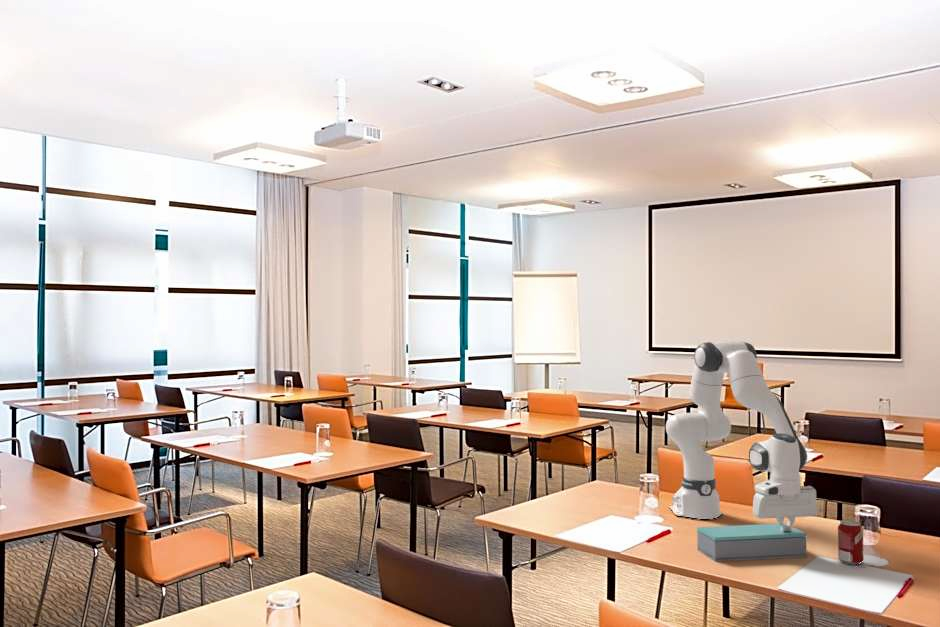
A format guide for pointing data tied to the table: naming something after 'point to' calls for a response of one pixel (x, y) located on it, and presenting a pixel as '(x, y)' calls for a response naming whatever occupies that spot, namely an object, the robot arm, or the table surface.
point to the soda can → (850, 542)
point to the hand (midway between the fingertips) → (785, 531)
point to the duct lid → (748, 532)
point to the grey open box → (752, 548)
